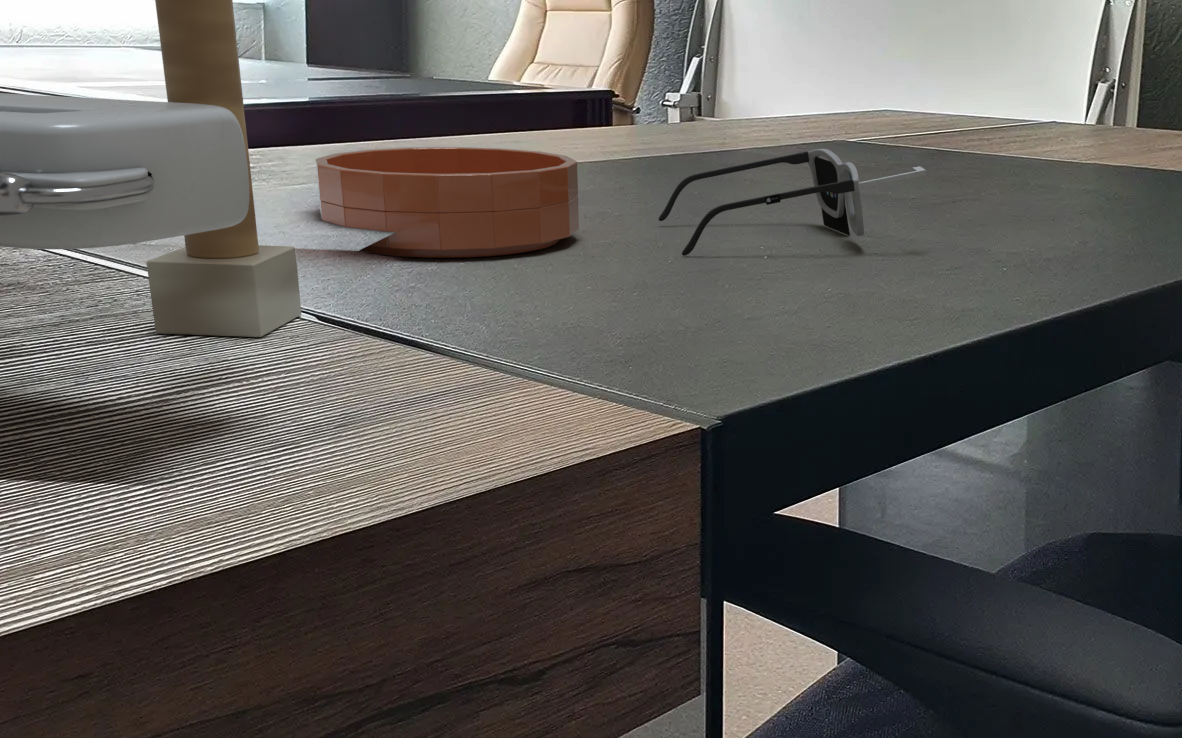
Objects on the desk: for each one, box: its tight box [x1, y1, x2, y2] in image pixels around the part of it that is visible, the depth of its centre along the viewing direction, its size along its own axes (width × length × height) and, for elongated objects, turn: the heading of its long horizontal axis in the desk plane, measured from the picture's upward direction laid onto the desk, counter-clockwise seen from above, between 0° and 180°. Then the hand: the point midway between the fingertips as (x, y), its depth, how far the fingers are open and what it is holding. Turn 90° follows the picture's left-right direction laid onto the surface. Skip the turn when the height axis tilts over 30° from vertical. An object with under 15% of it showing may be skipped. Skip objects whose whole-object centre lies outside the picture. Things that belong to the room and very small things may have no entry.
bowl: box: [314, 146, 580, 259], centre depth 79 cm, size 14×14×4 cm
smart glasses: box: [658, 148, 927, 256], centre depth 83 cm, size 12×14×5 cm
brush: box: [146, 0, 302, 338], centre depth 56 cm, size 4×4×15 cm
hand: (96, 135), depth 50 cm, fingers open, 8 cm apart
